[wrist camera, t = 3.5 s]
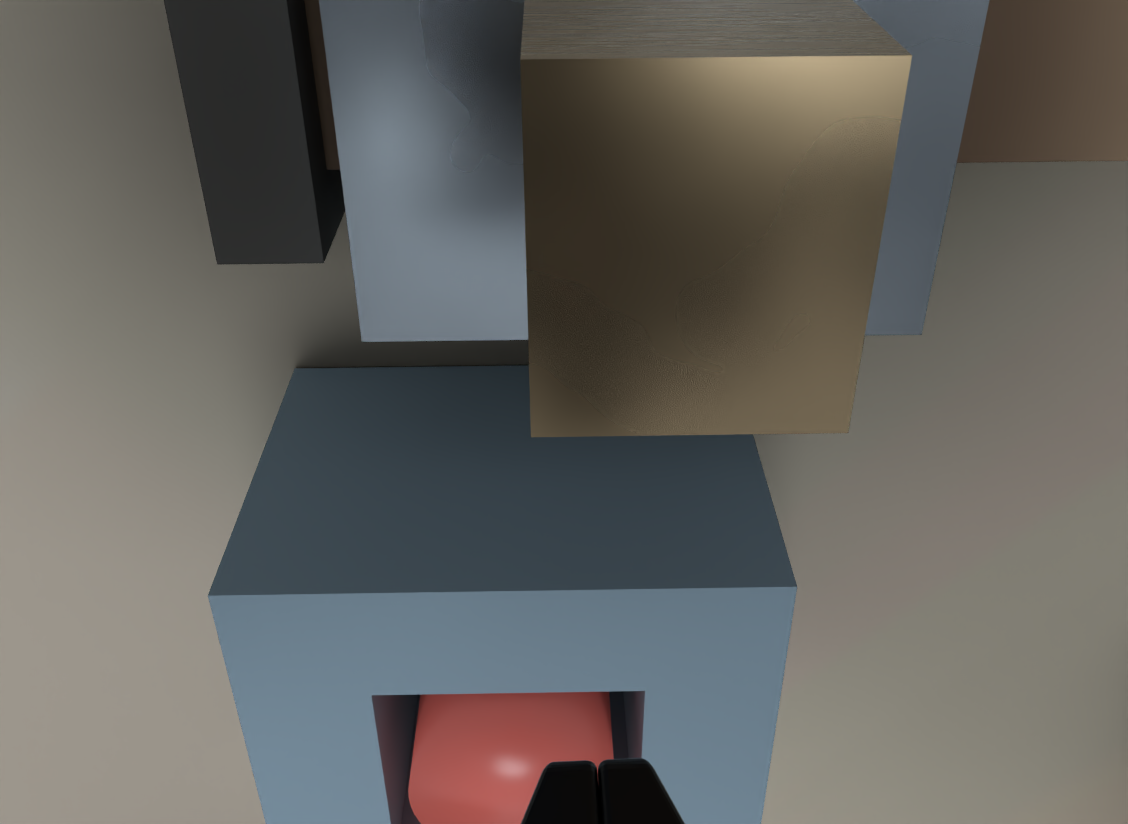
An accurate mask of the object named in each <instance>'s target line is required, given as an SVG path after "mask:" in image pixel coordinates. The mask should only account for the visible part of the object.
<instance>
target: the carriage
mask: <svg viewBox="0 0 1128 824" xmlns="http://www.w3.org/2000/svg"><path fill="white" fill-rule="evenodd" d="M319 5H320V13H321V21H322V29H323V37H324V45H325V53H326V61H327V68H328V76H329V84H330V92H331V100H332V108H333V116H334V124H335V132H336V140H337V148H338V156H339V164H340V172H341V180H342V187H343V195H344V203H345V211H346V219H347V227H348V235H349V243H350V251H351V259H352V267H353V275H354V283H355V291H356V299H357V306H358V314H359V322H360V330H361V338H362V342H392V341H470V340H528V350H529V385H530V421H531V437H589V436H662V435H735V434H808V433H848V431H849V425H850V419H851V413H852V407H853V401H854V395H855V390H856V384H857V378H858V372H859V366H860V360H861V354H862V348H863V342H864V337H865V335H922V330H923V325H924V320H925V316H926V311H927V306H928V301H929V296H930V291H931V286H932V281H933V276H934V271H935V266H936V261H937V256H938V251H939V247H940V242H941V237H942V232H943V227H944V222H945V217H946V212H947V207H948V202H949V197H950V192H951V187H952V183H953V178H954V173H955V168H956V163H957V158H958V153H959V148H960V143H961V138H962V133H963V128H964V123H965V119H966V114H967V109H968V104H969V99H970V94H971V89H972V84H973V79H974V74H975V69H976V64H977V59H978V55H979V50H980V45H981V40H982V35H983V30H984V25H985V20H986V15H987V10H988V5H989V0H319Z"/></svg>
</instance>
